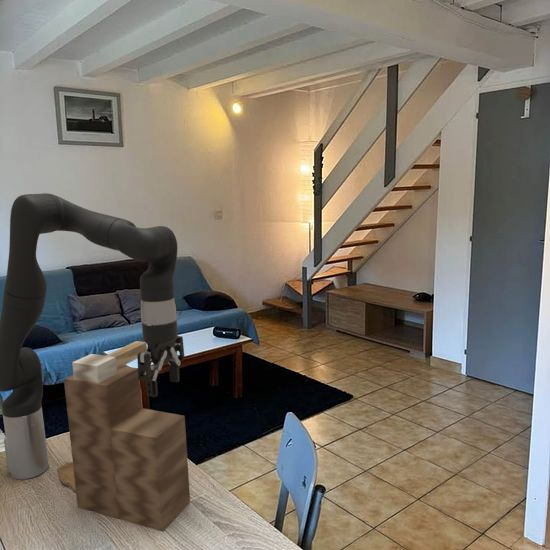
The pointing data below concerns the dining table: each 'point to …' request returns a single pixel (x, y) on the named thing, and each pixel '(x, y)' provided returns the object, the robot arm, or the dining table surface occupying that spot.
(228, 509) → the dining table surface
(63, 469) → the pottery shard
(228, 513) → the dining table surface
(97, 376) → the mallet
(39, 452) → the robot arm
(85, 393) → the stepped stand
